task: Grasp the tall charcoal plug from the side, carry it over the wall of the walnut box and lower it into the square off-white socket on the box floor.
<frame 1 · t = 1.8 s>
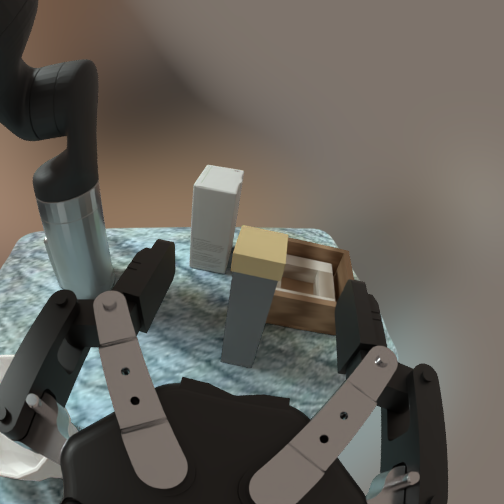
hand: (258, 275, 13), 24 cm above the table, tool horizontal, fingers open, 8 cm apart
skincare box: (212, 258, 51), on the table
grey plug: (238, 352, 36), on the table
walnut box: (294, 294, 46), on the table
cup: (54, 446, 20), on the table
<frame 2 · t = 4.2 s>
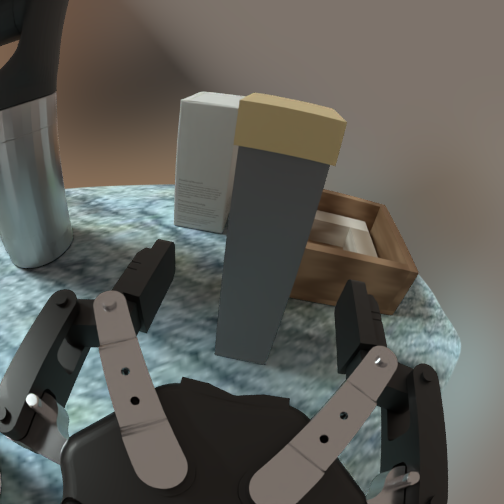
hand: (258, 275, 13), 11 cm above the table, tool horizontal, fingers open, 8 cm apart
skincare box: (206, 216, 38), on the table
grey plug: (243, 340, 23), on the table
walnut box: (320, 260, 33), on the table
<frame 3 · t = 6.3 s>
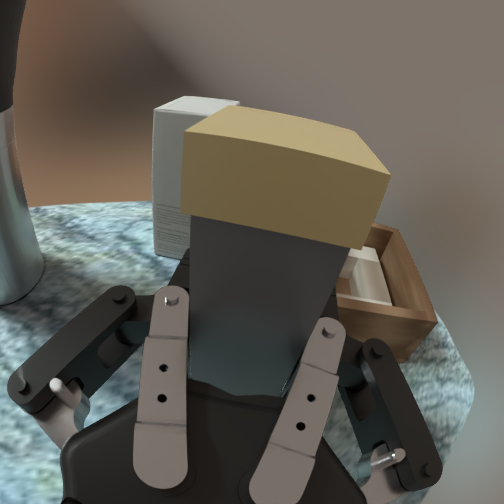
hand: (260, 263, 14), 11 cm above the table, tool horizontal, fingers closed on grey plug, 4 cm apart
skincare box: (192, 241, 33), on the table
grey plug: (229, 405, 18), on the table, touching gripper
walnut box: (322, 297, 28), on the table
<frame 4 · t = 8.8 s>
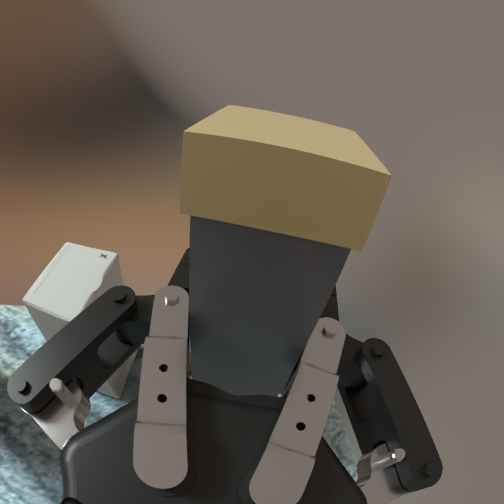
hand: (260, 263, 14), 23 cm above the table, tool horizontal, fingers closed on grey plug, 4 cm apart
skincare box: (109, 367, 30), on the table
grey plug: (229, 406, 18), point 12 cm above the table, touching gripper
when the fingers open (13 cm above the table, at t = 11.3 s): grey plug drops 1 cm, resting on walnut box.
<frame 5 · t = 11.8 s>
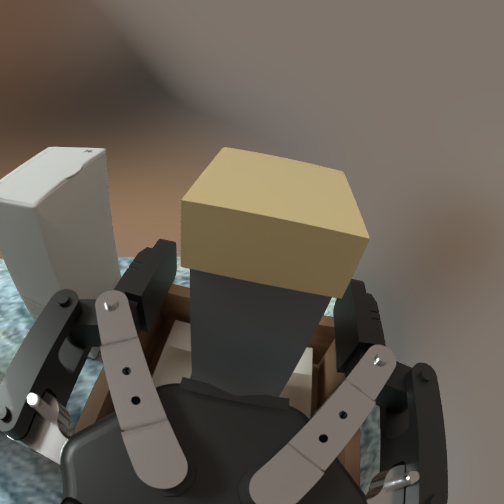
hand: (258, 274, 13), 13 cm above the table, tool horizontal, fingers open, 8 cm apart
skincare box: (87, 321, 24), on the table
grey plug: (227, 413, 19), point 1 cm above the table, touching walnut box
walnut box: (226, 415, 19), on the table
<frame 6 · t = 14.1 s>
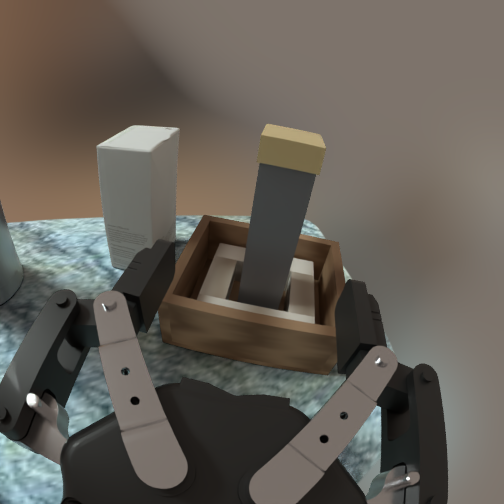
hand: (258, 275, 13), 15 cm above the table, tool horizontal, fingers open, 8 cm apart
skincare box: (146, 254, 35), on the table
grey plug: (256, 305, 30), point 1 cm above the table, touching walnut box
walnut box: (255, 308, 31), on the table
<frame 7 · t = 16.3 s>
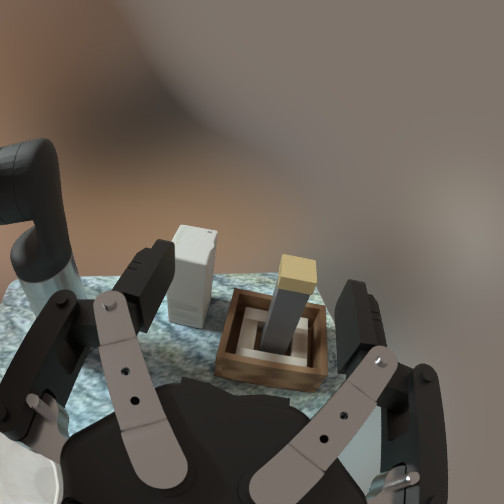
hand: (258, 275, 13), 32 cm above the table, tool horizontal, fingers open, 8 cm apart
skincare box: (191, 310, 51), on the table
grey plug: (270, 348, 46), point 1 cm above the table, touching walnut box
walnut box: (269, 350, 46), on the table
cup: (56, 487, 20), on the table
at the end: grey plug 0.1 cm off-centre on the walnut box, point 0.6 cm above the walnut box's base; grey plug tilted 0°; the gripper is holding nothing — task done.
